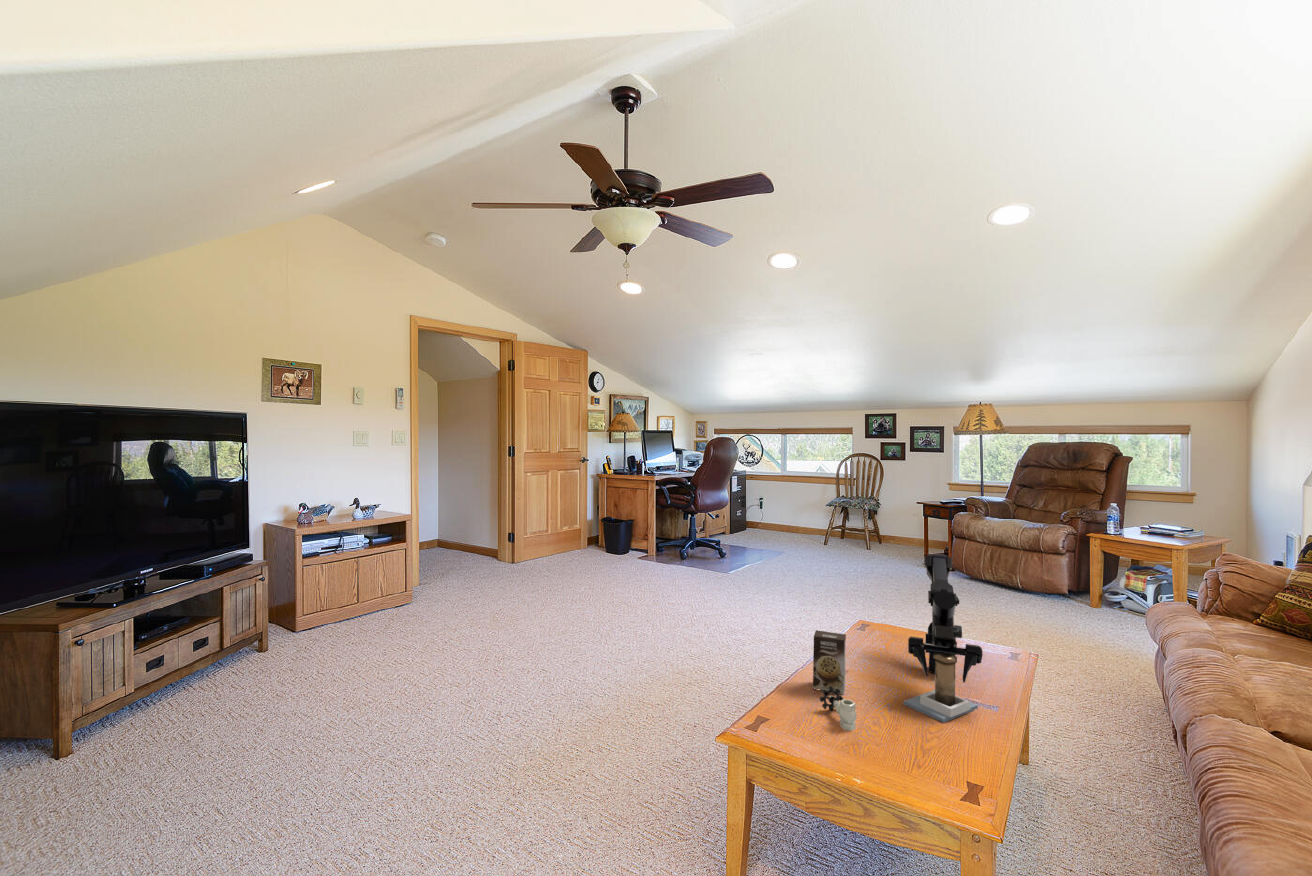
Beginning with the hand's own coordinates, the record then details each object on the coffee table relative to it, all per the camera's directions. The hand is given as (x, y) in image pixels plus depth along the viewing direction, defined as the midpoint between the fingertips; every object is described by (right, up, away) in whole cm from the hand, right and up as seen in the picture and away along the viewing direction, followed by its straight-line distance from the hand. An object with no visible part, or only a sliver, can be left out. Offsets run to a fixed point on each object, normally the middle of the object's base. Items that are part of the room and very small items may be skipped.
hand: (945, 678), depth 156 cm
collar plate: (0, -9, +2) cm, 9 cm away
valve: (-31, -9, -6) cm, 33 cm away
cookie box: (-28, -9, +14) cm, 32 cm away
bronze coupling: (0, -8, 0) cm, 8 cm away
